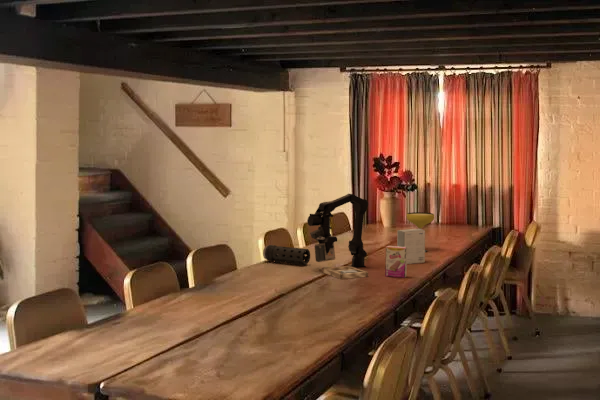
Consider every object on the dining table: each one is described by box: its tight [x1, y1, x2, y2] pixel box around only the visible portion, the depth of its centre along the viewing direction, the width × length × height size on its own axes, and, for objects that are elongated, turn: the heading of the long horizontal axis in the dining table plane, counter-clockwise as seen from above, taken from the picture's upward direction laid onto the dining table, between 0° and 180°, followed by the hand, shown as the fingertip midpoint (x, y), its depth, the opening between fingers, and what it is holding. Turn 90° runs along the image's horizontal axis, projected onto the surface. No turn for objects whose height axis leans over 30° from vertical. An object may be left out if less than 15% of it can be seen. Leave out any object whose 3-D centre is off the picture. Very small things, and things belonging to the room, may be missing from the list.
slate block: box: [341, 270, 358, 274], centre depth 405 cm, size 8×5×3 cm, turn 109°
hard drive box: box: [396, 228, 426, 265], centre depth 449 cm, size 16×8×20 cm, turn 115°
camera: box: [314, 242, 336, 263], centre depth 421 cm, size 11×6×10 cm, turn 114°
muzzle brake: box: [262, 244, 311, 267], centre depth 442 cm, size 10×28×10 cm, turn 59°
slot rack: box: [322, 265, 369, 280], centre depth 409 cm, size 17×20×2 cm
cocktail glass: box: [406, 211, 435, 253], centre depth 494 cm, size 18×18×25 cm
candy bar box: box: [384, 245, 408, 279], centre depth 405 cm, size 11×5×16 cm, turn 71°
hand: (324, 252), depth 421 cm, fingers closed on camera, 5 cm apart
